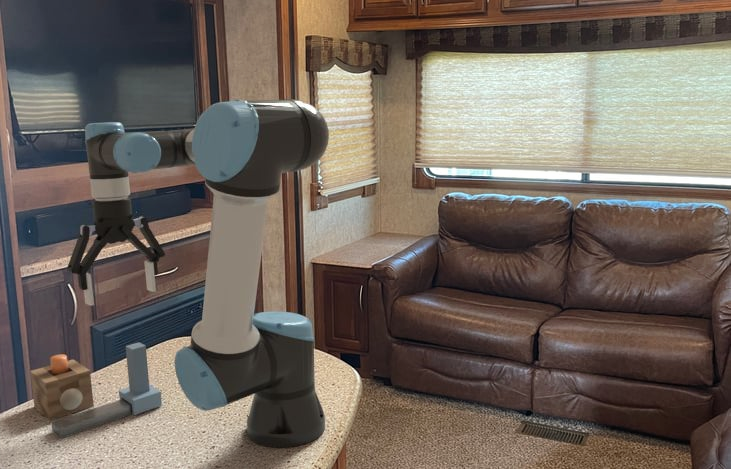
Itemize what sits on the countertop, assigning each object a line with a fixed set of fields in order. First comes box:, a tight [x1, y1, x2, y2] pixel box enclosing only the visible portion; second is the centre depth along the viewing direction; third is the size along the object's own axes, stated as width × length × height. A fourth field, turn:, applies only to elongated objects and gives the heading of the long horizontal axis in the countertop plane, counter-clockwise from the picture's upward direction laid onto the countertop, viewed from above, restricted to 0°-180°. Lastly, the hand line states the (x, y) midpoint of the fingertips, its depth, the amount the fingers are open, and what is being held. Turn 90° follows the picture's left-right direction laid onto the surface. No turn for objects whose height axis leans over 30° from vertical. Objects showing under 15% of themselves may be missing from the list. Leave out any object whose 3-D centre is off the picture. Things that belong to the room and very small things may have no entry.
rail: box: [51, 399, 134, 440], centre depth 141 cm, size 4×21×2 cm, turn 134°
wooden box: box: [29, 359, 95, 421], centre depth 146 cm, size 10×9×8 cm
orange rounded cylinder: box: [49, 354, 68, 375], centre depth 145 cm, size 3×3×3 cm
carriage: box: [118, 342, 163, 416], centre depth 145 cm, size 7×6×13 cm
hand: (121, 297), depth 147 cm, fingers open, 13 cm apart
